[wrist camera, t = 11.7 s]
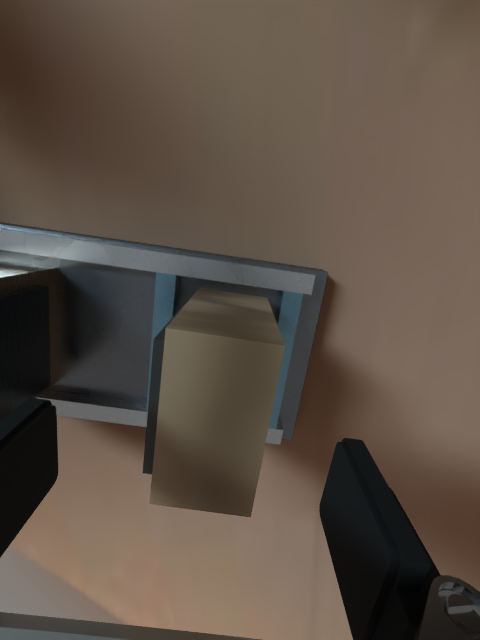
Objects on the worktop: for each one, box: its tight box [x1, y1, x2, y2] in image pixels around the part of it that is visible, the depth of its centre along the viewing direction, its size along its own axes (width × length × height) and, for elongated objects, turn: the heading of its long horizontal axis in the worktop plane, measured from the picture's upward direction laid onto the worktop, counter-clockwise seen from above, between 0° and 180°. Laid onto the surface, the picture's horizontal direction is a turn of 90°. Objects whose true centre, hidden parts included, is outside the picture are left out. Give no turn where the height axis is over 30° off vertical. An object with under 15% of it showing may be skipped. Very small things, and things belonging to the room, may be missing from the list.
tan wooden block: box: [143, 288, 285, 517], centre depth 17 cm, size 5×8×9 cm, turn 171°
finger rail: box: [0, 222, 328, 445], centre depth 17 cm, size 12×26×11 cm, turn 82°
